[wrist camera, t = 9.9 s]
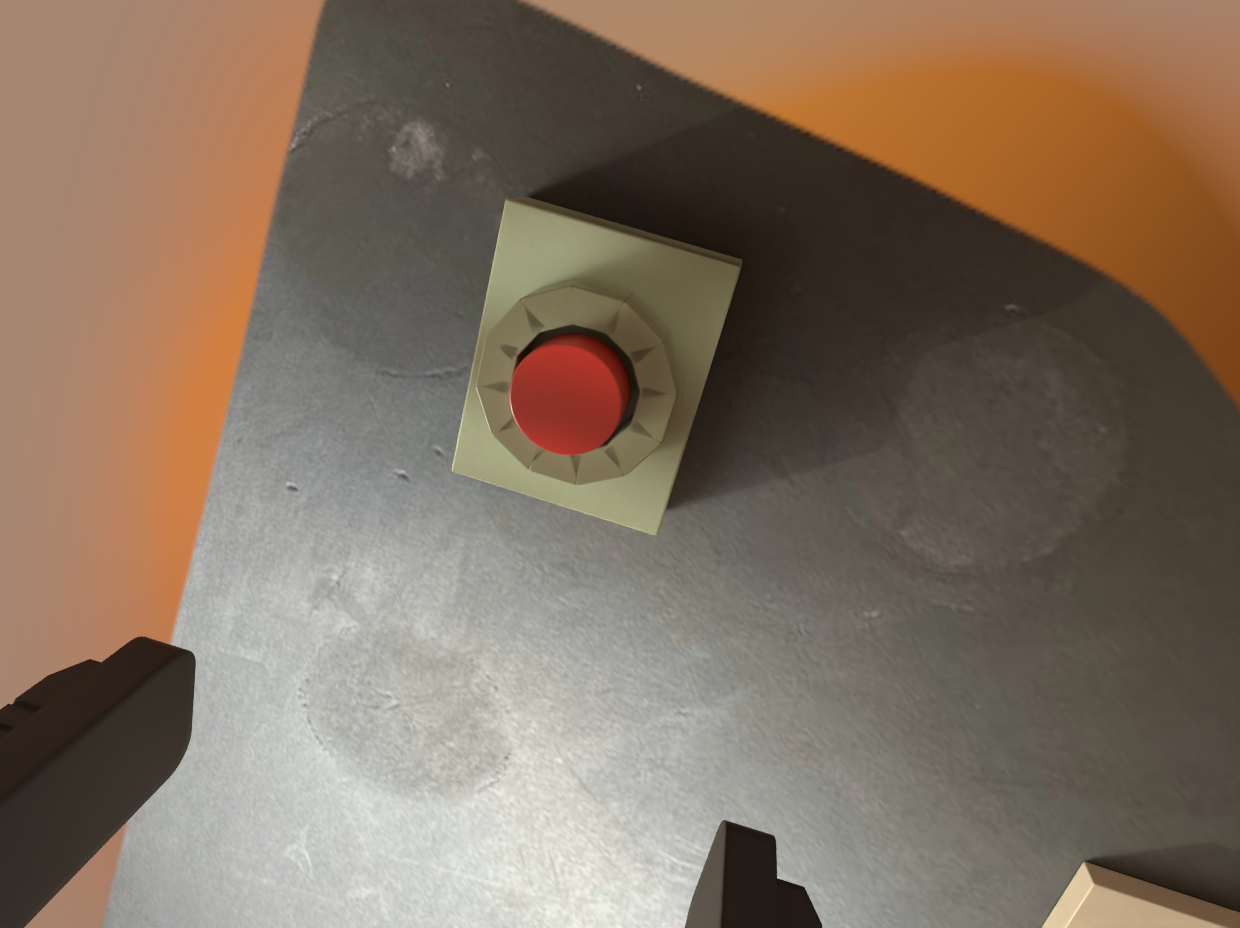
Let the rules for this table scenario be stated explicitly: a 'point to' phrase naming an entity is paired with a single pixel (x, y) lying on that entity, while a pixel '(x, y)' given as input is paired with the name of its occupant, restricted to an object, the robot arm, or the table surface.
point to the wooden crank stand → (1131, 904)
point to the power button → (570, 394)
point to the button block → (620, 317)
